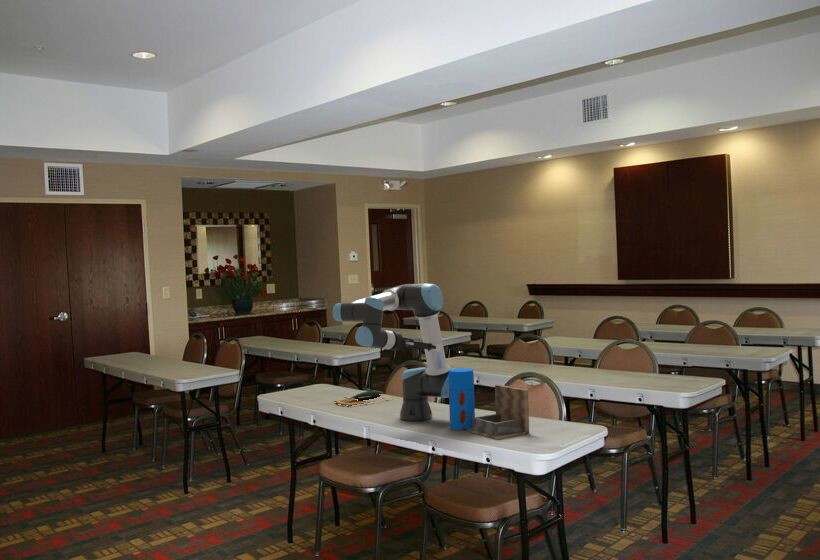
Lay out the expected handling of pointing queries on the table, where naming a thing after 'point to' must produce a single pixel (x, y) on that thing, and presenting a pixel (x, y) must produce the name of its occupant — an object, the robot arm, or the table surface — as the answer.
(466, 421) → the thermos
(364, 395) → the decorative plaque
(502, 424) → the mount board
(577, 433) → the table surface
